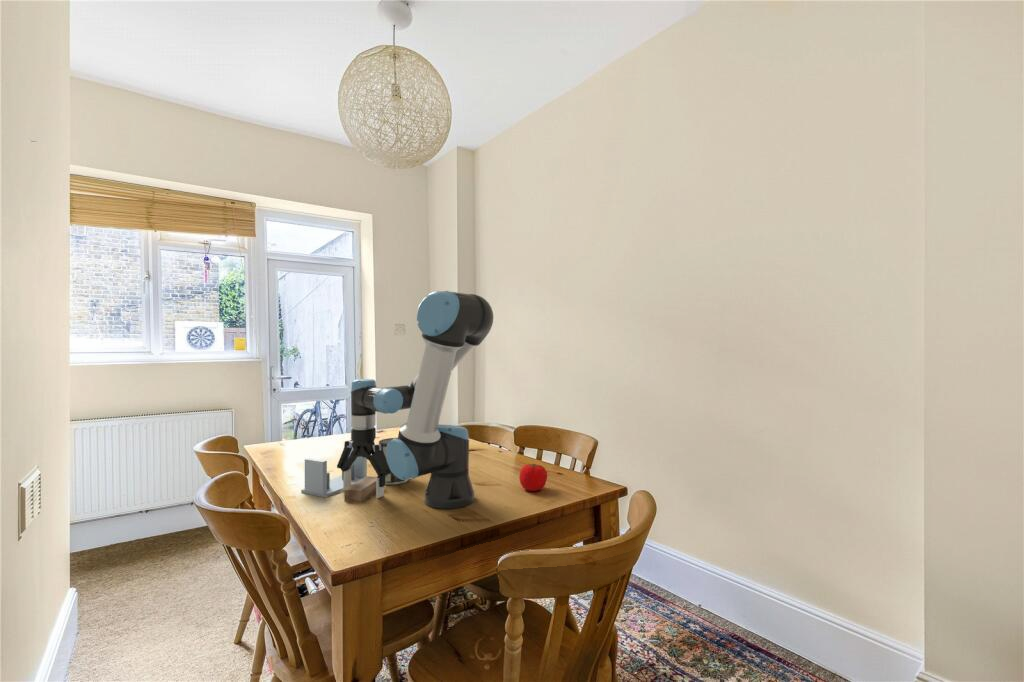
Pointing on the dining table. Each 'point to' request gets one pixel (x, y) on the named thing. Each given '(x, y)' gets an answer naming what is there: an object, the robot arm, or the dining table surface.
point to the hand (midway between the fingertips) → (363, 493)
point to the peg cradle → (320, 479)
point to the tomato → (533, 477)
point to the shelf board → (360, 490)
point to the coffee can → (390, 478)
